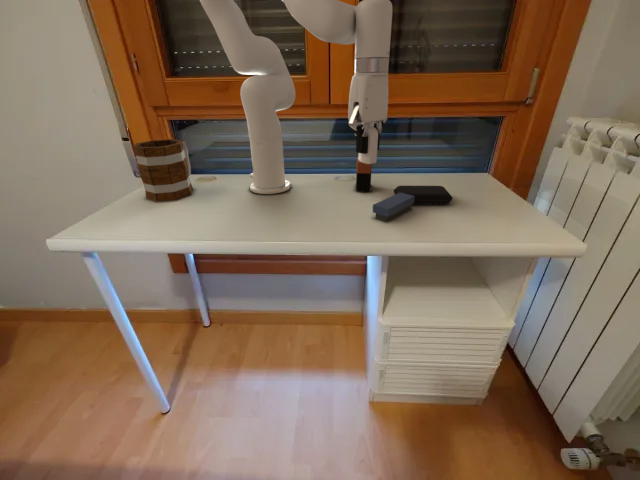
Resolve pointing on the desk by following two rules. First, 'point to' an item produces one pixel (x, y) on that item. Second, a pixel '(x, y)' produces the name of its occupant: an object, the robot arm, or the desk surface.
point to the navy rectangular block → (393, 206)
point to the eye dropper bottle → (370, 146)
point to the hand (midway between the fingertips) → (367, 150)
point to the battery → (363, 176)
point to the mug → (164, 169)
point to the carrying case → (426, 194)
